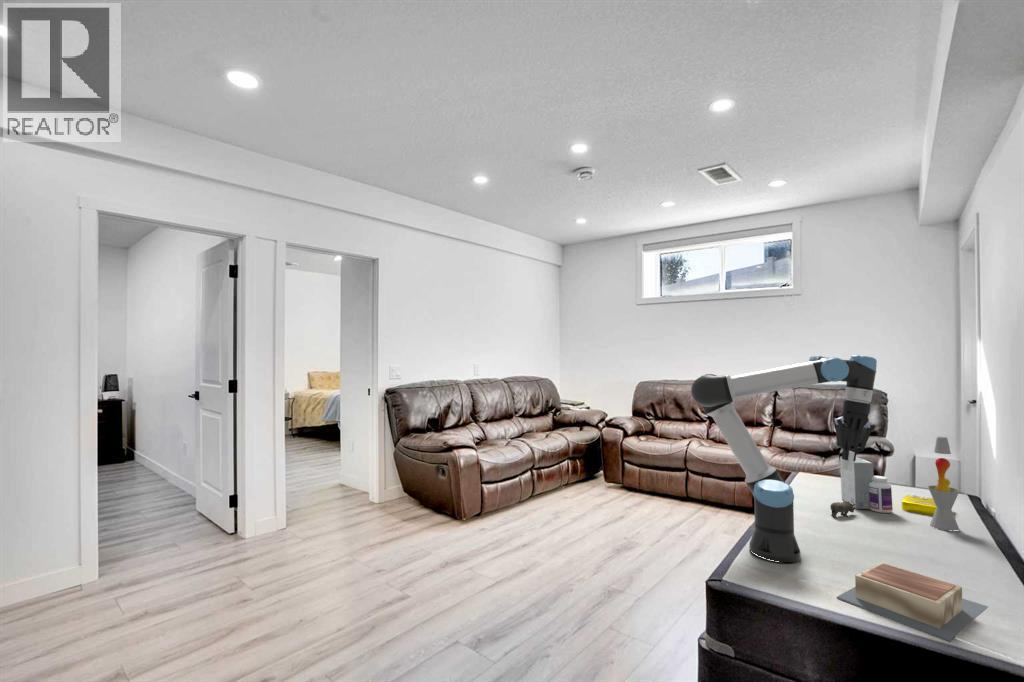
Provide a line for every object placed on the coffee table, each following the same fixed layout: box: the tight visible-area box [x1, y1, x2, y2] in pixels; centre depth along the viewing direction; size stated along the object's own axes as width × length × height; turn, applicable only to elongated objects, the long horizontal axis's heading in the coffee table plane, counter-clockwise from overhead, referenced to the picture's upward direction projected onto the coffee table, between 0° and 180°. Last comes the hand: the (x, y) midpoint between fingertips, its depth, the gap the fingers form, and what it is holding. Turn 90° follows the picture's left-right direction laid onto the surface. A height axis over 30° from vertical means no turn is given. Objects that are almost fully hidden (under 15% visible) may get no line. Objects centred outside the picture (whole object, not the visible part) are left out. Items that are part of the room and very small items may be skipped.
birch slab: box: [854, 561, 963, 629], centre depth 130 cm, size 6×18×16 cm
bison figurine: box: [830, 500, 856, 519], centre depth 202 cm, size 4×14×6 cm, turn 108°
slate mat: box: [836, 586, 989, 642], centre depth 131 cm, size 28×24×1 cm
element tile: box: [901, 494, 937, 516], centre depth 209 cm, size 15×15×5 cm
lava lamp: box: [927, 436, 960, 531], centre depth 188 cm, size 9×9×35 cm
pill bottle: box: [869, 475, 893, 514], centre depth 208 cm, size 8×8×14 cm
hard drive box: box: [839, 456, 875, 510], centre depth 217 cm, size 16×8×20 cm, turn 166°
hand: (846, 470), depth 164 cm, fingers closed
